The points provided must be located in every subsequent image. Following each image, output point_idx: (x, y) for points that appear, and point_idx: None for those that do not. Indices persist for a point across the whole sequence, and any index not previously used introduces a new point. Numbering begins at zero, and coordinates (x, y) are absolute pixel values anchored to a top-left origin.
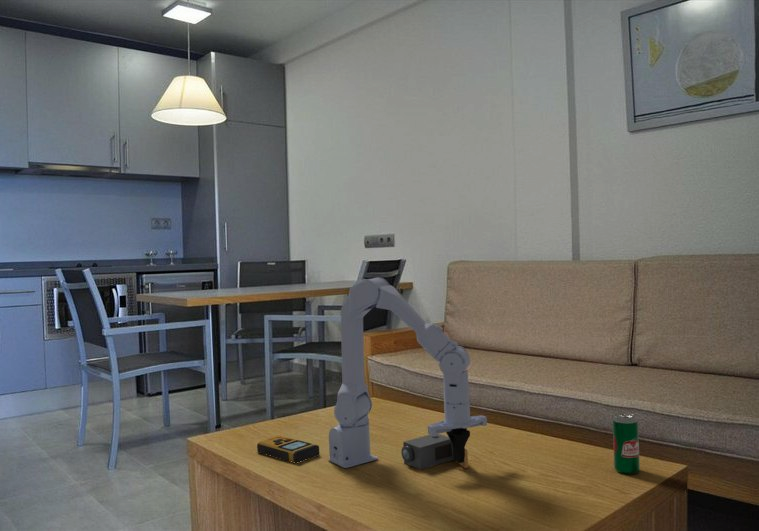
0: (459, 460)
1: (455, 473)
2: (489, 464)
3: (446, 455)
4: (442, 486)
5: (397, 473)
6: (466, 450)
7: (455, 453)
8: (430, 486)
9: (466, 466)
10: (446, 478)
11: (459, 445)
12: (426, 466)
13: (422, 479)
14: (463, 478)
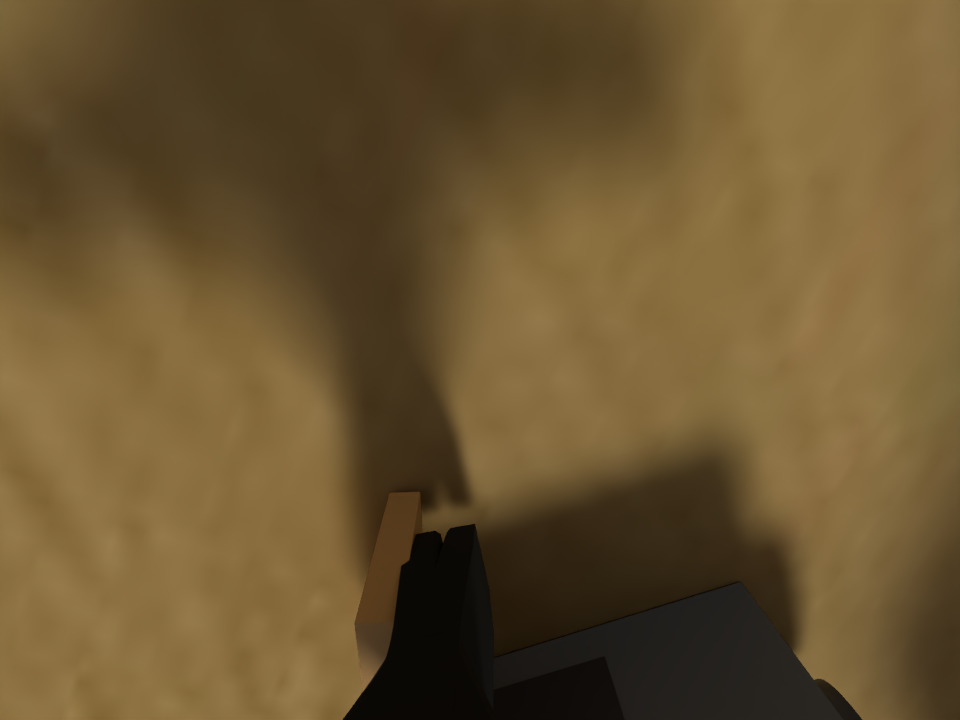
0: (468, 537)
1: (531, 430)
2: (184, 515)
3: (494, 705)
4: (781, 183)
5: (921, 572)
6: (366, 620)
7: (484, 633)
8: (872, 226)
9: (402, 500)
10: (652, 353)
11: (473, 672)
12: (688, 608)
13: (836, 403)
14: (517, 299)
